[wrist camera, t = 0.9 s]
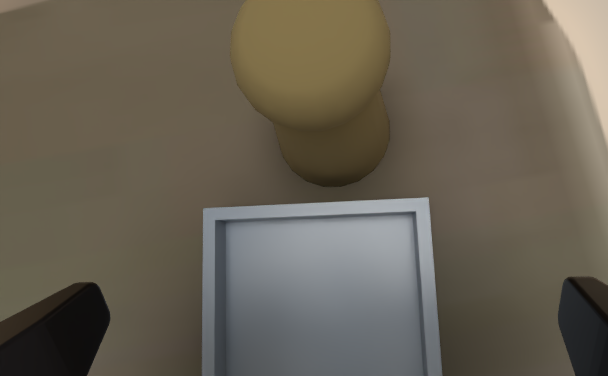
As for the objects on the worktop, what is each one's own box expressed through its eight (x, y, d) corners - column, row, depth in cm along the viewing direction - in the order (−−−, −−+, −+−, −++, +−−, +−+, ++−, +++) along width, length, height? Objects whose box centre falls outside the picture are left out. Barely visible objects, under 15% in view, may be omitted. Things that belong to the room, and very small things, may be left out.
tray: (439, 432, 20) (448, 453, 18) (217, 426, 22) (201, 445, 19) (422, 203, 22) (428, 197, 20) (218, 212, 23) (203, 208, 21)
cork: (271, 89, 24) (193, -46, 13) (380, 69, 23) (390, -92, 12) (285, 195, 23) (211, 141, 12) (399, 177, 22) (427, 103, 11)
